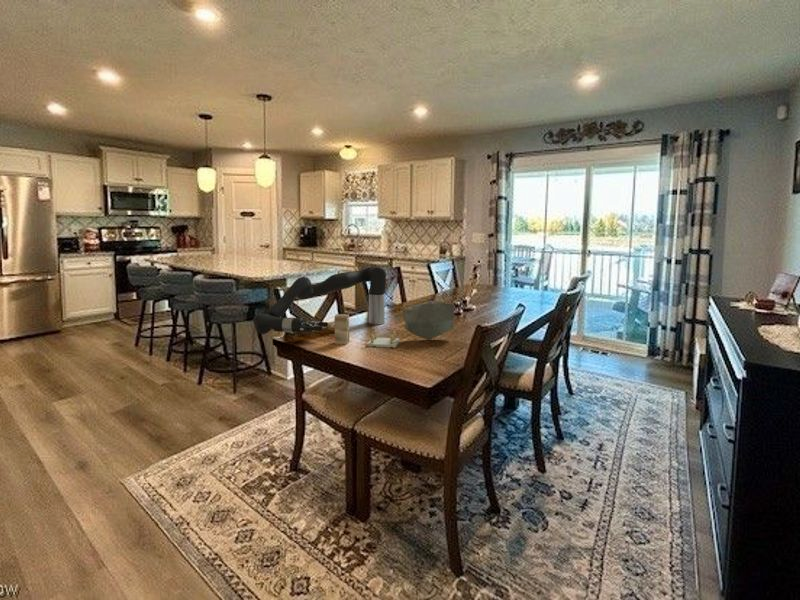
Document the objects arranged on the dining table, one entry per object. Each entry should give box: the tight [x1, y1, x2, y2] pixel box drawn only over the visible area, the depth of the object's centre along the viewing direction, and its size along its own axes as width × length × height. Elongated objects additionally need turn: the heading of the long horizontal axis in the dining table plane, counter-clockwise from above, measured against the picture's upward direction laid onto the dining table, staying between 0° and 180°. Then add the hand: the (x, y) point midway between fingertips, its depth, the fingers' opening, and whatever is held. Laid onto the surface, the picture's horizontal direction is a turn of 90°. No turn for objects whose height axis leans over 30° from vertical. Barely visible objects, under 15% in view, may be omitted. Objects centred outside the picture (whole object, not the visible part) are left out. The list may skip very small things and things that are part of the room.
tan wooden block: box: [334, 313, 350, 345], centre depth 211 cm, size 4×6×14 cm, turn 81°
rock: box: [401, 300, 456, 340], centre depth 218 cm, size 27×6×20 cm, turn 98°
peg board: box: [366, 330, 400, 349], centre depth 212 cm, size 12×14×5 cm
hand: (324, 326), depth 213 cm, fingers open, 8 cm apart
